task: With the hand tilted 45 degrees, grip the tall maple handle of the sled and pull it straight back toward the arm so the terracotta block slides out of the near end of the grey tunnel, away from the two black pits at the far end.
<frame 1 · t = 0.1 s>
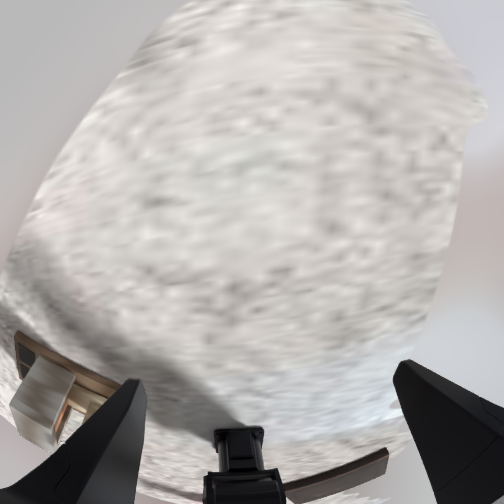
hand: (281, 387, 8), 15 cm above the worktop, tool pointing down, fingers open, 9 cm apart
hardcover book: (336, 476, 44), on the worktop
sled: (59, 426, 20), point 7 cm above the worktop, slide at 0.0 cm
tunnel: (59, 378, 25), on the worktop
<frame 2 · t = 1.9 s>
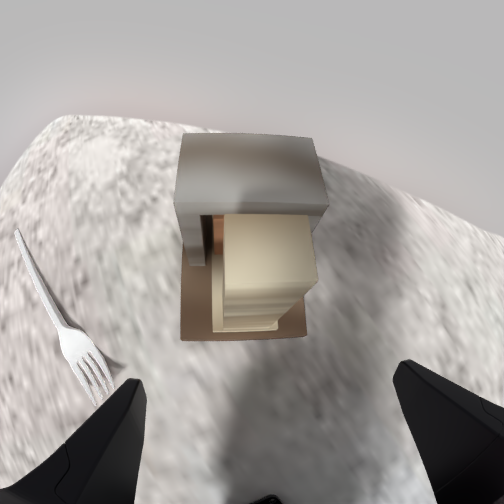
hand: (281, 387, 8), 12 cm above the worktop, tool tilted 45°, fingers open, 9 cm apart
sled: (248, 228, 16), point 7 cm above the worktop, slide at 0.0 cm
fork: (51, 302, 19), on the worktop
tunnel: (239, 241, 23), on the worktop
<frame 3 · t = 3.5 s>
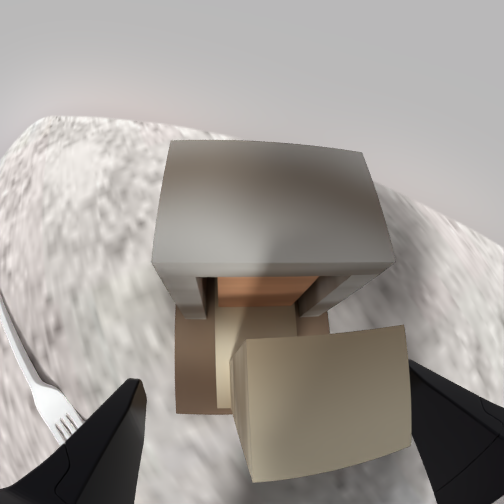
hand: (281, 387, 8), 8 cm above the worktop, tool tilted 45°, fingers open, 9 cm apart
sled: (270, 289, 10), point 7 cm above the worktop, slide at 0.0 cm
fork: (23, 348, 14), on the worktop
tunnel: (250, 283, 18), on the worktop
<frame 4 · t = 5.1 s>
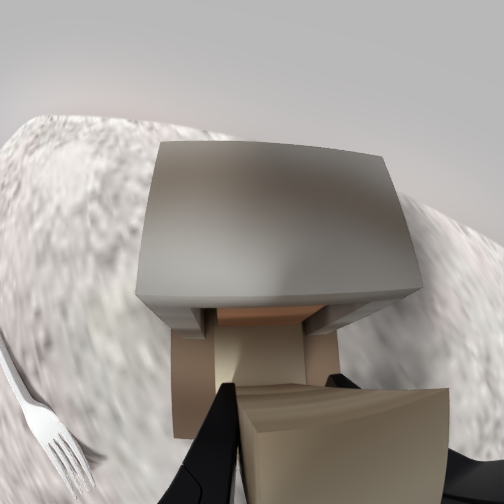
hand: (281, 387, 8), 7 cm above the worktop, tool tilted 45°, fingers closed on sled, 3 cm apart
sled: (278, 317, 9), point 7 cm above the worktop, slide at 0.0 cm, touching gripper
fork: (12, 363, 12), on the worktop
tunnel: (252, 297, 16), on the worktop
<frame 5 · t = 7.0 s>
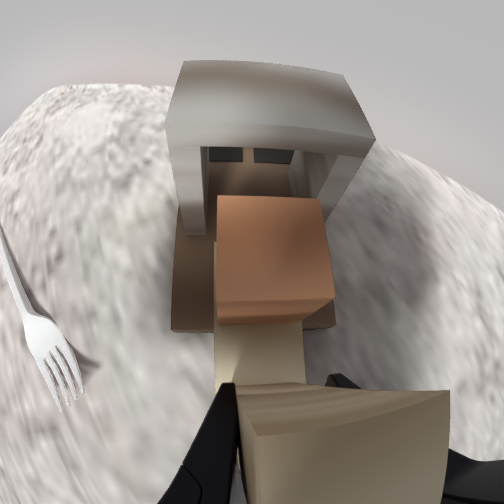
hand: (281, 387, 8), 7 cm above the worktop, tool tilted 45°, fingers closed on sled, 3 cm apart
sled: (278, 316, 9), point 7 cm above the worktop, slide at 5.9 cm, touching gripper
fork: (20, 285, 15), on the worktop
tunnel: (248, 209, 18), on the worktop
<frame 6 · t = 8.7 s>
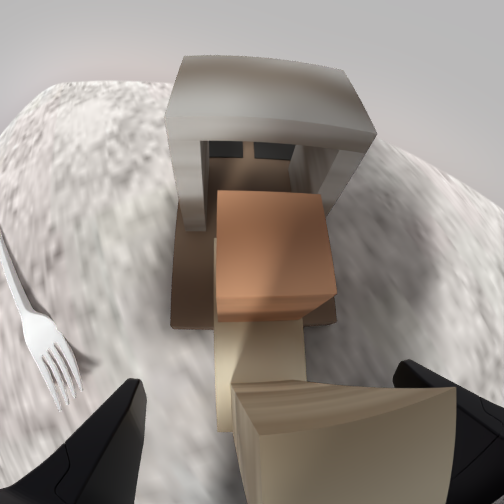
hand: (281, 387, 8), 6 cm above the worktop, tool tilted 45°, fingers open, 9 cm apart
sled: (279, 312, 9), point 7 cm above the worktop, slide at 5.9 cm
fork: (18, 283, 15), on the worktop
tunnel: (249, 205, 18), on the worktop
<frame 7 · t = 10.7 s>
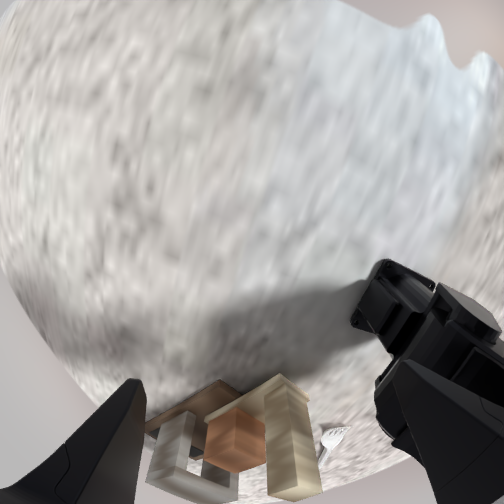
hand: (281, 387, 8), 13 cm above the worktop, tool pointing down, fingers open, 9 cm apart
sled: (255, 452, 19), point 7 cm above the worktop, slide at 5.9 cm
fork: (322, 453, 31), on the worktop
tunnel: (201, 427, 27), on the worktop
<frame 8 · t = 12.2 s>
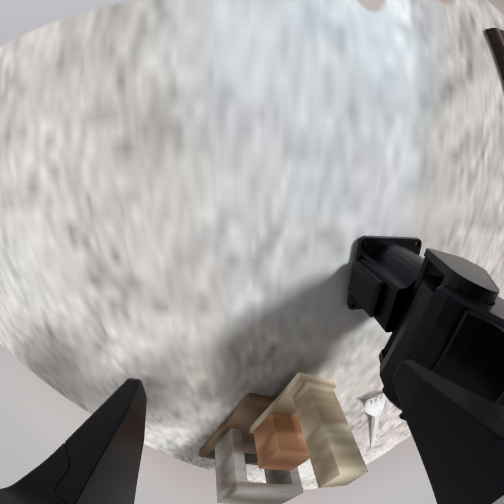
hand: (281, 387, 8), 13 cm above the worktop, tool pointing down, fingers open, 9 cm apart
sled: (300, 449, 20), point 7 cm above the worktop, slide at 5.9 cm
fork: (372, 419, 32), on the worktop
tunnel: (251, 436, 29), on the worktop
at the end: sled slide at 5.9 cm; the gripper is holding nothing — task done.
